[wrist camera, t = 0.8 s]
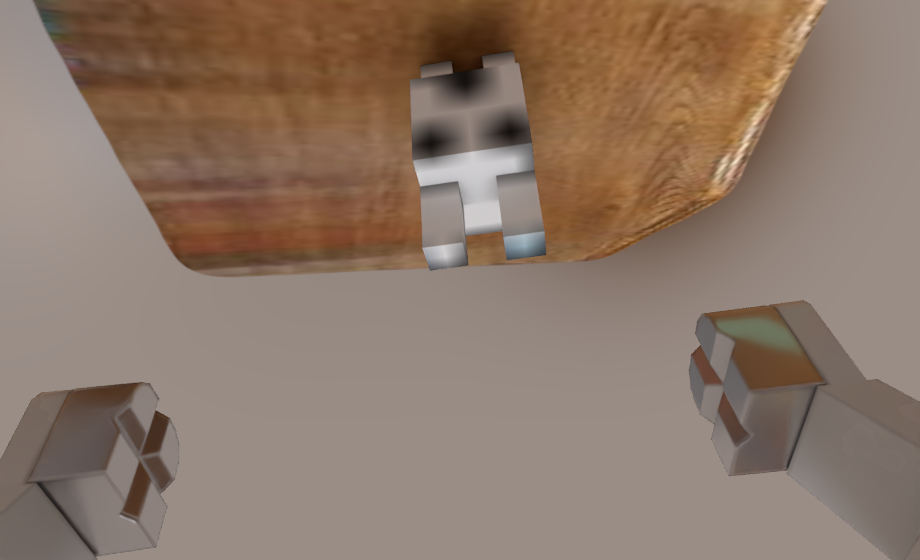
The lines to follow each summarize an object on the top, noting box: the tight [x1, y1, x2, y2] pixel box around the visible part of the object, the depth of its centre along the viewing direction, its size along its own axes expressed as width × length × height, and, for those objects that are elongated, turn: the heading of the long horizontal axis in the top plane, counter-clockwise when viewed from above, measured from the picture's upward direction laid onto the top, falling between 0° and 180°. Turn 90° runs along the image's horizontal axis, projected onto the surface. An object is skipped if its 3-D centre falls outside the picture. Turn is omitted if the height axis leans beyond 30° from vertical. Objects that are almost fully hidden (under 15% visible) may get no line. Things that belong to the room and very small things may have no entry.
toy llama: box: [410, 51, 546, 270], centre depth 53 cm, size 8×18×20 cm, turn 8°
